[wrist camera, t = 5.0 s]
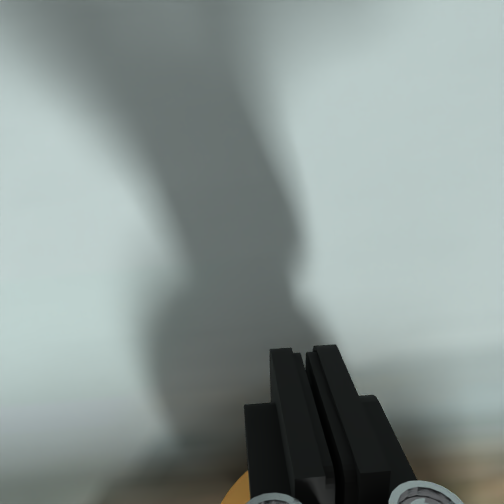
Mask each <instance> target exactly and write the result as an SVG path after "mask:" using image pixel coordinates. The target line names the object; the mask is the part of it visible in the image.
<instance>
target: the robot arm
mask: <svg viewBox="0 0 504 504" xmlns="http://www.w3.org/2000/svg"><path fill="white" fill-rule="evenodd" d="M270 384H271V403H261V404H248V405H244V414H245V431H246V447H247V462H248V476H249V490H250V501H248V502H247V503H246V504H464V503H463V502H462V501H461V500H460V499H459V498H458V497H457V496H456V495H455V494H454V493H452V492H451V491H449V490H448V489H446V488H445V487H443V486H440V485H438V484H435V483H433V482H427V481H421V480H417V479H416V477H415V475H414V473H413V471H412V469H411V466H410V464H409V462H408V460H407V458H406V456H405V454H404V452H403V450H402V448H401V446H400V444H399V442H398V440H397V438H396V436H395V434H394V432H393V430H392V427H391V425H390V423H389V421H388V419H387V417H386V415H385V413H384V411H383V409H382V407H381V405H380V403H379V401H378V399H377V398H376V396H374V395H365V396H358V394H357V391H356V389H355V387H354V384H353V382H352V380H351V377H350V375H349V373H348V370H347V368H346V366H345V364H344V361H343V359H342V357H341V354H340V352H339V350H338V347H337V346H336V345H321V346H314V348H313V352H307V353H306V370H305V367H304V364H303V360H302V357H301V354H300V353H293V351H292V348H279V349H270Z"/></svg>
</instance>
